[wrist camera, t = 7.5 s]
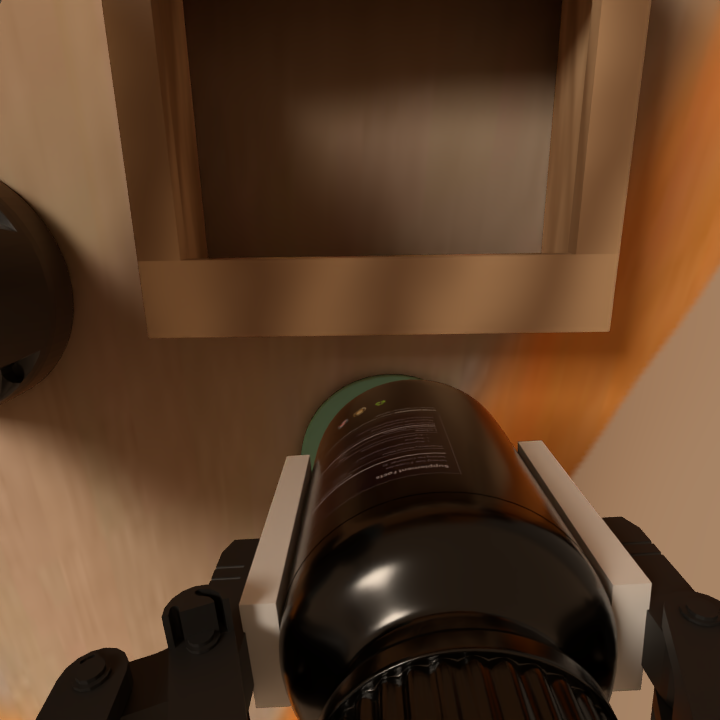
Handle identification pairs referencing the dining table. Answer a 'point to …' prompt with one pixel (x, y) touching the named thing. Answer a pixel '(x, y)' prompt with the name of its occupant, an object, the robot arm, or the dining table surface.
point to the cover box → (381, 273)
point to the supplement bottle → (438, 575)
